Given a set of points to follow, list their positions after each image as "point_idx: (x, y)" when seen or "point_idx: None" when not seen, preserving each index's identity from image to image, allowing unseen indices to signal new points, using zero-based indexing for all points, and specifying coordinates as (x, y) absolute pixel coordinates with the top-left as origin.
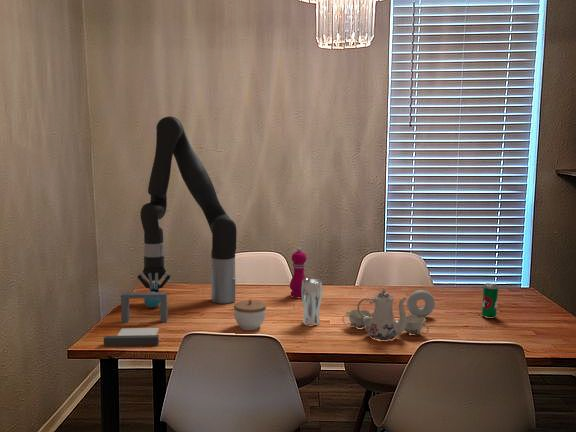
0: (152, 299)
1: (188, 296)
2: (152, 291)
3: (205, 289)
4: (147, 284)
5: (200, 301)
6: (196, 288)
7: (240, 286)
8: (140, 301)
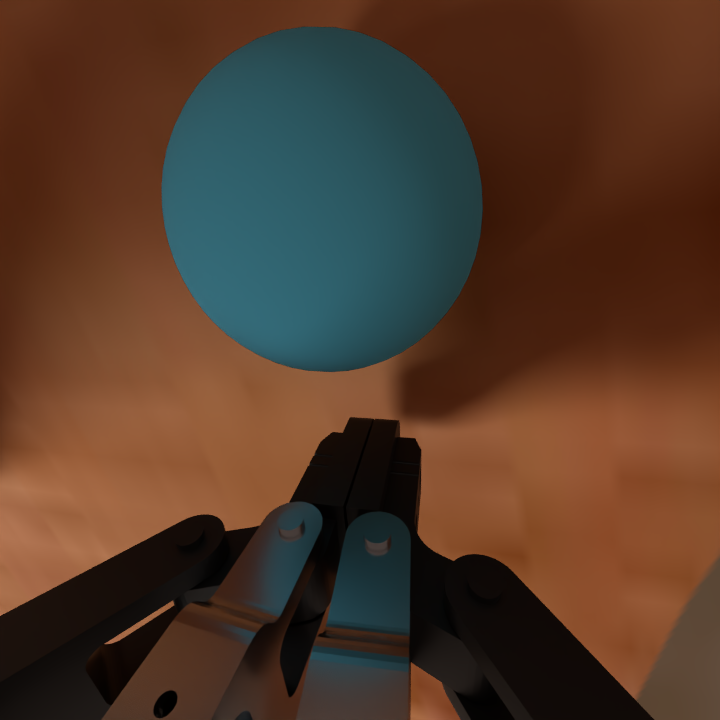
0: (257, 38)
1: None
2: (273, 283)
3: None
4: (476, 653)
5: (24, 421)
6: None
7: None
8: (559, 465)
